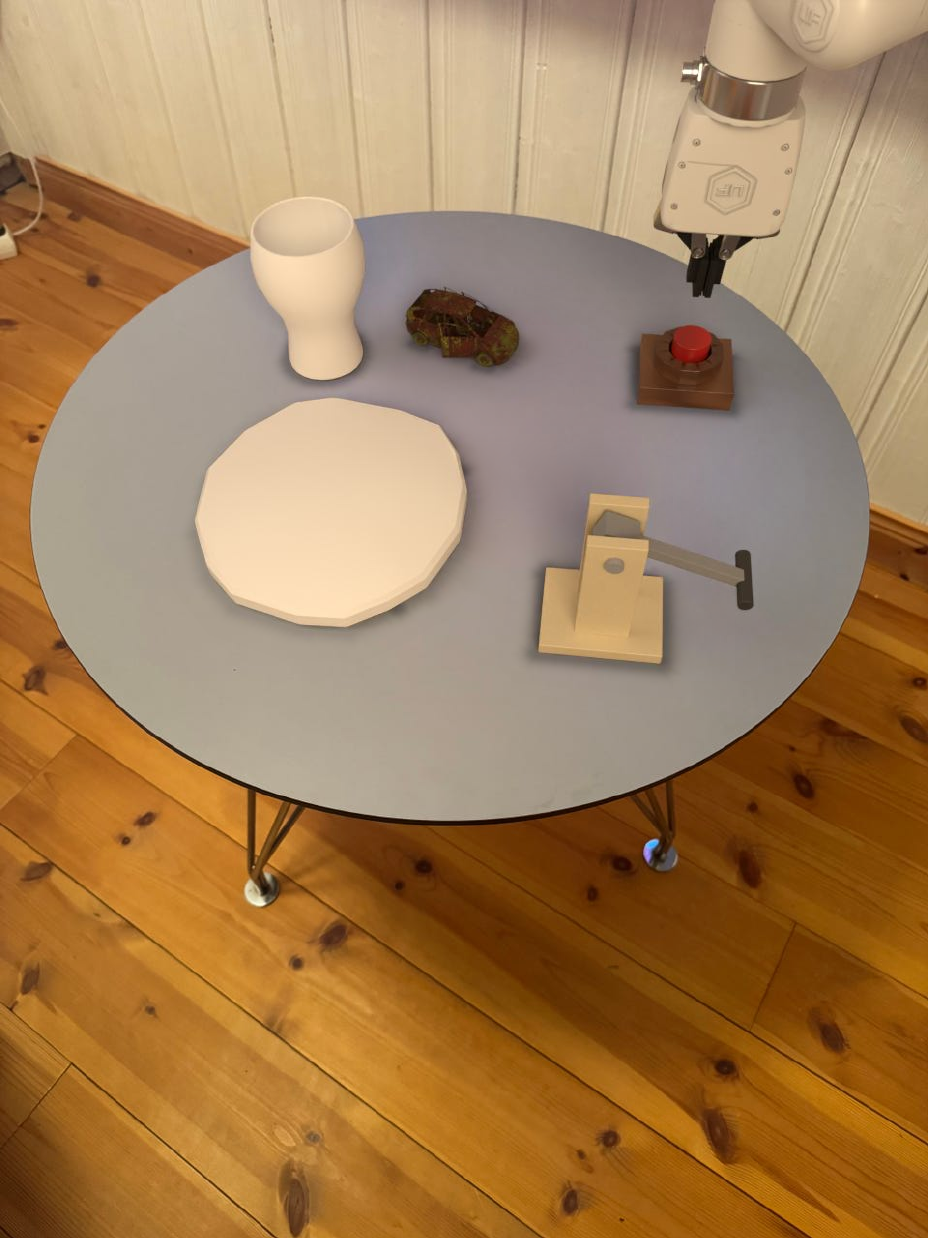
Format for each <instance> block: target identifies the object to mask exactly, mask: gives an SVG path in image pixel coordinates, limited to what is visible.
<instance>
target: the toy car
mask: <svg viewBox="0 0 928 1238" xmlns="http://www.w3.org/2000/svg"><path fill="white" fill-rule="evenodd" d="M443 288H444V289H437V288H426V289H425V288H424V289H423V290H422V292H421V294H420V295H419V296H418V297H417V298H416V299H415V301H413V303H412V304H411V305H410V306H409V307H408V309H407V310H406V312H405V317H406V319H405V320H406V322H405V326H406V330H407V332H408V333H409V335H410V336H411V337H412V338H413V340H414V342H415V343H416V344H417V345H418V346H420V347H421V346H422V347H424V346H425V347H426V345H427V344H429V345H430V346H434V347H436V348H440V349H441V355H442V358H443V359H452V358H453V359H454V358H455V359H456V358H457V359H458V358H471V359H473V360H476V361H477V363H478V364H479V365H480V366H482V367H487V368H488V367H491V366H492V364H493V365H494V366H497V367H498V366H501V365H503V364H506V363H507V362H508V361H509V360H511V358H512V357H513V356H514V354H515V353H516V351H517V349H518V348H519V344H520V332H519V329H518V327H516V323H515V322H514V321H513V320H512V319H510V318H508V317H506V316H505V315H502V314H501V313H497V312H495V311H494V310H492V309H490V307H488V306H487V305H486V304H483V302H481V301H480V300H478V299H476V298H474V297H472V296H471V295H469V294H467V293H465V292H463V291H460V293H459V292H457V291H455V290H453V289H450V288H449V287H446V286H443ZM477 303H480V305H482V306H480V305H479V304H477Z"/></svg>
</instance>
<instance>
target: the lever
mask: <svg viewBox="0 0 928 1238" xmlns="http://www.w3.org/2000/svg"><path fill="white" fill-rule="evenodd" d="M593 536H606V537H618V538H630V539H642V540H649V551H648V555H647V559H652V560H654V561H657V562H661V563H664V564H667V565H670V566H673V567H676V568H679V569H681V570H685V571H688V572H690V573H692V574H693V573H694V574H697V575H700V576H703V577H706V578H709V579H712V580H715V581H718V582H721V583H723V584H726V585H730V586H732V587H735V588H736V606H737V607H736V608H738V609H739V610H740V611H750V610H752V609H753V608H754V605H755V603H754V600H755V599H754V586H753V585H754V584H753V569H752V567H753V566H752V553H751V551H750V550H748V549H739V550H737V551H736V552H735V554H734V565H735V566H734V565H731V564H729V563H726V562H723V561H719V560H717V559H713V558H711V557H708V556H705V555H703V554H698V553H696V552H693V551H690V550H687V549H685V548H681V547H678V546H676V545H672V544H669V543H666V542H663V541H660V540H657V539H655V538H652V537H648V536H646V535H644V534H643V535H640V522H639V521H636V520H633V519H630V518H627V517H624V516H621V515H618V514H615V513H613V512H610V511H606V513H605V514H604V515H603V517H602V518H601V519H600V520H599V522H598V523H597V524H596V525H595V527H594V528H593Z"/></svg>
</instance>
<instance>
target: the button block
mask: <svg viewBox="0 0 928 1238" xmlns="http://www.w3.org/2000/svg"><path fill="white" fill-rule="evenodd" d="M683 326H684V325H682V326H681V325H680V326H678V327H674V328H671V329H668V330H665V331H664V333H662V334H658V333H657V334H656V333H641V337H640V344H639V350H638V377H637V378H638V379H637V405H646V406H660V407H661V406H662V407H673V408H674V407H675V408H687V409H688V408H689V409H690V408H691V409H702V410H703V409H705V410H716V411H717V410H718V411H730V410H731V406H732V403H733V399H734V396H735V383H734V365H733V363H734V362H733V343H732V338H721V337H720V338H719V337H717V336H716V335H715V334H714V333H712V332H711V331H708V332H709V333H710V335H711V344H710V348H709V352H708V356H707V357H706V358H705V359H704V360H703V361H701V362H698V363H685V362H683V361H681V360H678V359H676V358H675V357H674V356H673V354H672V352H671V347H672V342H673V337H674V333H675V332H676V330H677V329H679V328H680V327H683Z"/></svg>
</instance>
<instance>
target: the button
mask: <svg viewBox="0 0 928 1238" xmlns="http://www.w3.org/2000/svg"><path fill="white" fill-rule="evenodd" d="M682 326H683V327H682ZM682 326H681V327H680V326H679V327H680V328H679V329H677V330H676V332H675V333H674V337H673V342H672V347H671V352H672V354H673V356H674V357H675V358H676V359H678V360H681V361H683V362H685V363H698V362H701V361H703V360H704V359H705V358H706V357H707V356H708V352H709V348H710V344H711V335H710V333H709V332H710V331H708V330H707V329H706V328H704V327H702V326H699V325H696V324H695V325H694V324H688V325H687V324H686V325H682Z"/></svg>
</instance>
